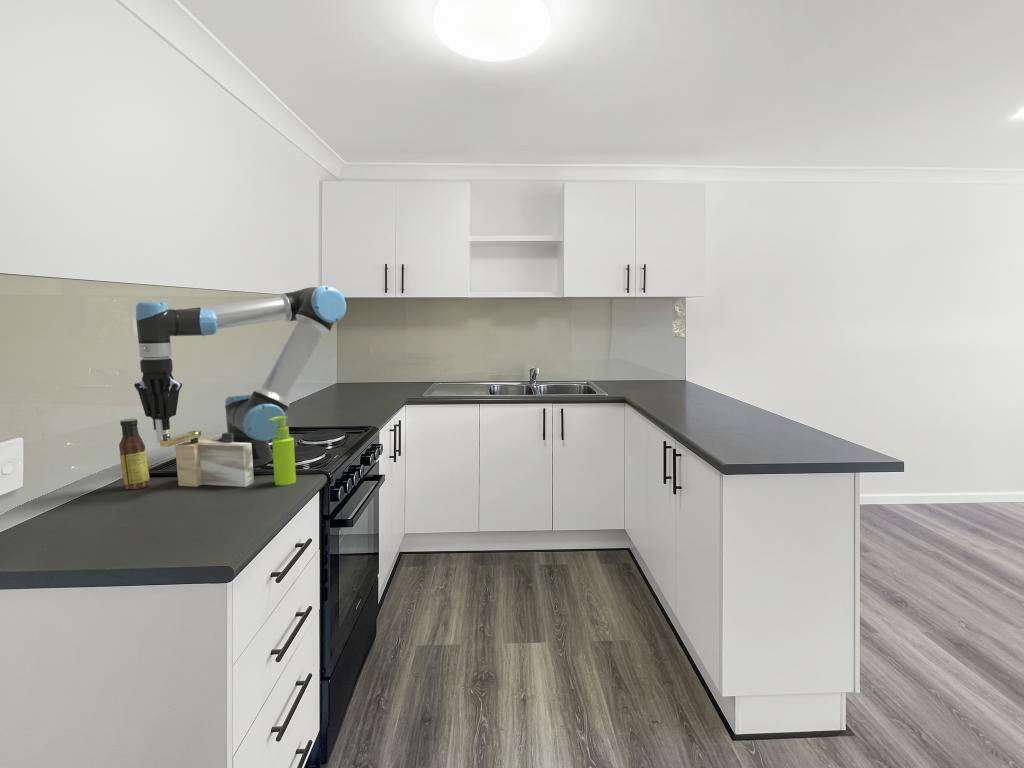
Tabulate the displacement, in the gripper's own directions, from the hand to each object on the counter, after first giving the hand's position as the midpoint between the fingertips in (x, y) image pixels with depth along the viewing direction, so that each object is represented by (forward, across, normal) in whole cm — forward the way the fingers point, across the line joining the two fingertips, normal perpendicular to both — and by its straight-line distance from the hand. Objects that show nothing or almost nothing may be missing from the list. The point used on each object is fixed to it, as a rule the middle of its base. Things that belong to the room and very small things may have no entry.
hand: (163, 441), depth 158 cm
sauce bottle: (+14, -10, 0) cm, 17 cm away
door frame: (+14, +11, +7) cm, 19 cm away
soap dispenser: (+14, +30, +9) cm, 35 cm away
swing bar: (0, +4, +2) cm, 5 cm away
